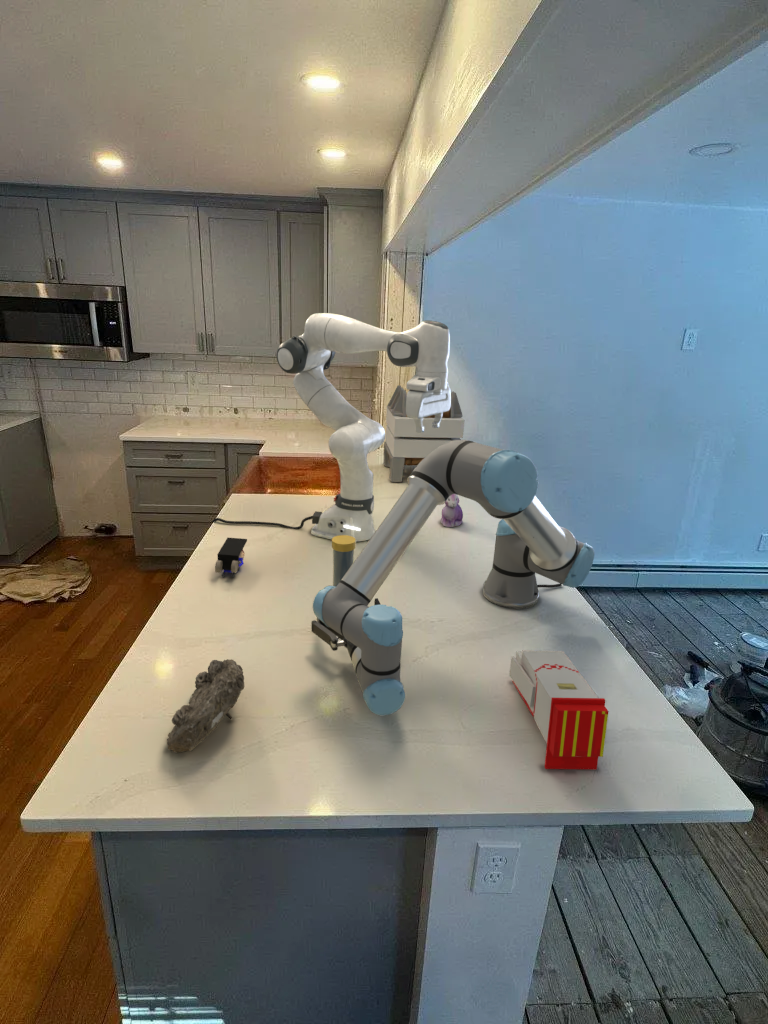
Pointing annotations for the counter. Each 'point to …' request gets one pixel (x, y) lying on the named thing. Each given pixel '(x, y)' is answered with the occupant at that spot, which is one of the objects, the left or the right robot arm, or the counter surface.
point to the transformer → (416, 434)
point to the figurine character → (230, 556)
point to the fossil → (206, 705)
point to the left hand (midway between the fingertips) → (427, 430)
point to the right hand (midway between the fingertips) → (348, 605)
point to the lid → (343, 543)
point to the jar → (341, 564)
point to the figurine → (452, 512)
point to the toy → (561, 708)
